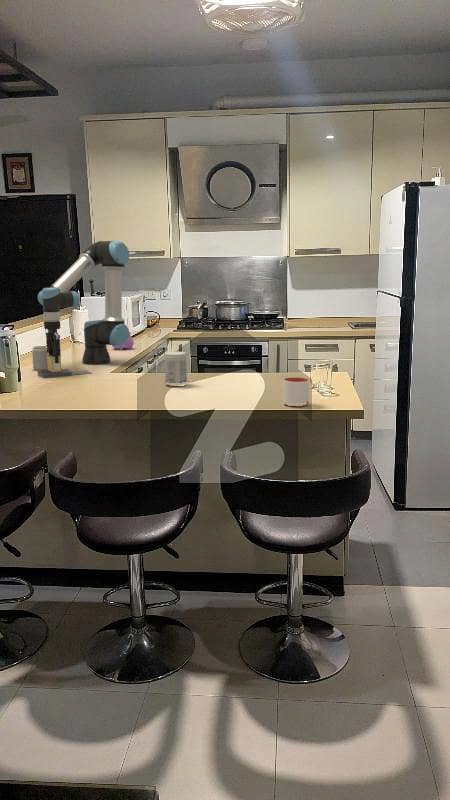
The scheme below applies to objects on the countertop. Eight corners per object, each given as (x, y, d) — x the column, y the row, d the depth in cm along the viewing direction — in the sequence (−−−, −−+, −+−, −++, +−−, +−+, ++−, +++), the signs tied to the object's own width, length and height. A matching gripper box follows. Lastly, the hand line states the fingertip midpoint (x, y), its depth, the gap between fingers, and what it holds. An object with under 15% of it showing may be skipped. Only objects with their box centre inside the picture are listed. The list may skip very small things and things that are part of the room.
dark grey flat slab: (65, 372, 307) (65, 368, 306) (72, 375, 300) (71, 371, 299) (37, 375, 299) (37, 371, 299) (43, 378, 292) (43, 373, 292)
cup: (280, 402, 245) (281, 377, 242) (305, 401, 245) (306, 377, 243) (285, 408, 235) (285, 382, 233) (310, 407, 236) (311, 381, 234)
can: (44, 371, 311) (42, 347, 309) (30, 370, 313) (29, 347, 310) (51, 368, 318) (49, 345, 316) (37, 368, 320) (36, 345, 317)
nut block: (58, 374, 303) (57, 354, 301) (62, 375, 299) (60, 355, 297) (47, 375, 300) (46, 354, 298) (51, 376, 296) (50, 356, 294)
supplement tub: (183, 382, 283) (183, 351, 280) (189, 386, 274) (189, 353, 271) (162, 384, 280) (162, 351, 277) (168, 388, 271) (167, 354, 268)
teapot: (141, 350, 388) (140, 330, 385) (120, 352, 379) (120, 332, 377) (125, 346, 403) (125, 328, 401) (106, 348, 395) (105, 329, 392)
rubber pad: (86, 370, 312) (86, 370, 312) (92, 373, 306) (92, 372, 306) (70, 372, 308) (70, 371, 308) (76, 374, 301) (76, 374, 301)
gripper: (38, 319, 299) (40, 366, 304) (50, 322, 284) (53, 372, 289) (53, 318, 303) (55, 365, 308) (66, 321, 288) (68, 370, 293)
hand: (54, 368), depth 299 cm, fingers closed on nut block, 5 cm apart
